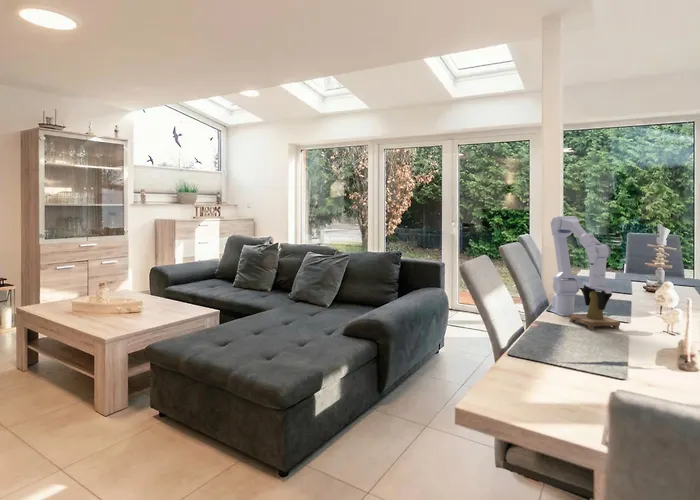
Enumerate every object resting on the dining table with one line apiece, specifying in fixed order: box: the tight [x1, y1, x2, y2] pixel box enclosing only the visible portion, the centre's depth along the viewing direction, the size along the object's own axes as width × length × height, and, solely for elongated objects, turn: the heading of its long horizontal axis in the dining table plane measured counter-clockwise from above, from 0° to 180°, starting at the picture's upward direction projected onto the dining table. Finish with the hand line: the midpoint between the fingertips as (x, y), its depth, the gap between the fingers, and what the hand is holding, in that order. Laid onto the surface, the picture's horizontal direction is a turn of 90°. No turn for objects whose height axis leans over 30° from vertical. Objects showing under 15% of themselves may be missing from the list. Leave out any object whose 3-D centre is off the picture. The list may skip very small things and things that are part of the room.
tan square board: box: [569, 313, 621, 331], centre depth 183 cm, size 13×13×3 cm
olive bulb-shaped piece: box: [586, 290, 604, 320], centre depth 183 cm, size 6×6×11 cm
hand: (594, 307), depth 182 cm, fingers open, 7 cm apart
